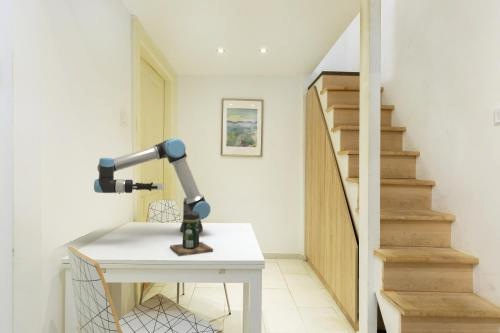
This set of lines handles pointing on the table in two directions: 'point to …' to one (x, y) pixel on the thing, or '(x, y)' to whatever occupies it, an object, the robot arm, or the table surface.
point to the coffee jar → (190, 230)
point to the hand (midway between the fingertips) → (164, 186)
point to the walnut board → (191, 249)
